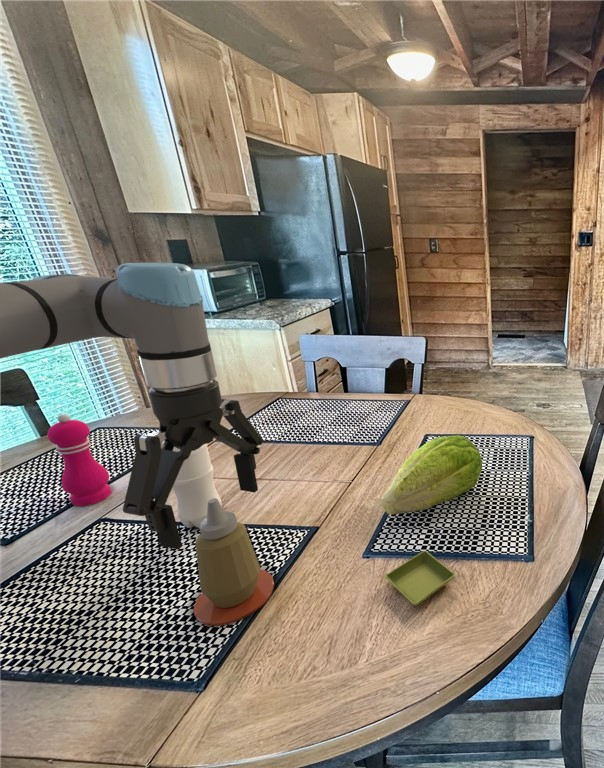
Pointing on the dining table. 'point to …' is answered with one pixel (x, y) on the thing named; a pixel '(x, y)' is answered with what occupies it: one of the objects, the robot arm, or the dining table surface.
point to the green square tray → (420, 577)
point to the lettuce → (434, 475)
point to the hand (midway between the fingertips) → (214, 515)
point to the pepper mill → (79, 462)
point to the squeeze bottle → (225, 558)
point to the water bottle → (194, 487)
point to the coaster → (220, 616)
